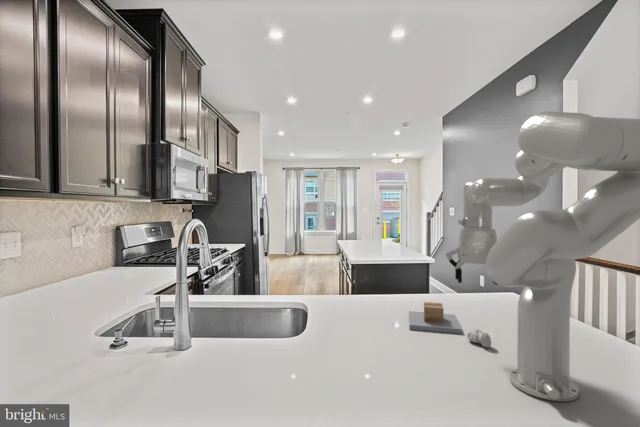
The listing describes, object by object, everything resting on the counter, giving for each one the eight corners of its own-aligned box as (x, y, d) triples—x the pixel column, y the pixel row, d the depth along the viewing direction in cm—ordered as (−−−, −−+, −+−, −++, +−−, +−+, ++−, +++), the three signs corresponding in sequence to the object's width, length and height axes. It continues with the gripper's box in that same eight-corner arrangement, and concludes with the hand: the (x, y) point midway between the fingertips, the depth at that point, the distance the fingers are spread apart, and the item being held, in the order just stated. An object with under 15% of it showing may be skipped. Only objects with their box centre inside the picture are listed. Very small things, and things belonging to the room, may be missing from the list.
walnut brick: (443, 323, 111) (443, 308, 111) (424, 321, 112) (424, 307, 112) (441, 317, 117) (441, 303, 117) (423, 315, 119) (424, 301, 119)
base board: (461, 334, 105) (461, 329, 105) (409, 329, 109) (409, 324, 109) (454, 318, 121) (454, 314, 121) (409, 315, 125) (409, 311, 125)
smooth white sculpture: (465, 342, 101) (481, 337, 101) (479, 353, 93) (496, 347, 93) (461, 329, 101) (477, 324, 102) (474, 338, 93) (491, 332, 94)
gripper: (447, 224, 95) (447, 283, 95) (514, 224, 91) (514, 287, 91) (444, 223, 103) (444, 279, 103) (506, 224, 98) (506, 282, 98)
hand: (477, 282), depth 97 cm, fingers open, 9 cm apart
